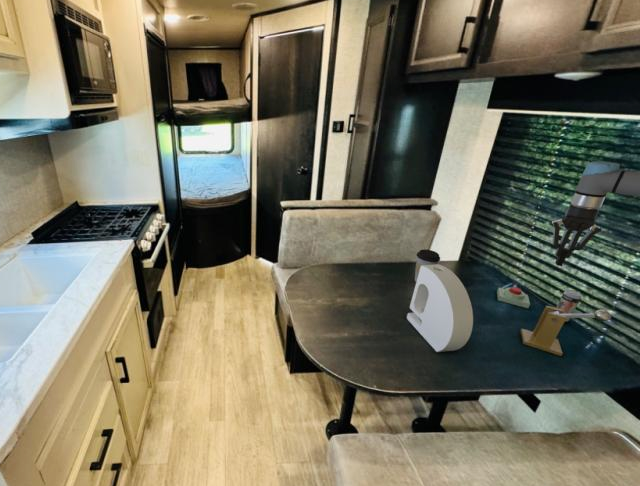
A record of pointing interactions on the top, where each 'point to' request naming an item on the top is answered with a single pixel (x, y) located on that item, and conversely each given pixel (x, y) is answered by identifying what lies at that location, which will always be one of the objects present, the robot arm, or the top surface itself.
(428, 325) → the white curved block
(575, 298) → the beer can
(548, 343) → the bracket
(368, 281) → the top surface
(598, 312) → the tap lever
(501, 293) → the button block
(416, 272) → the coffee cup
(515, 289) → the button
